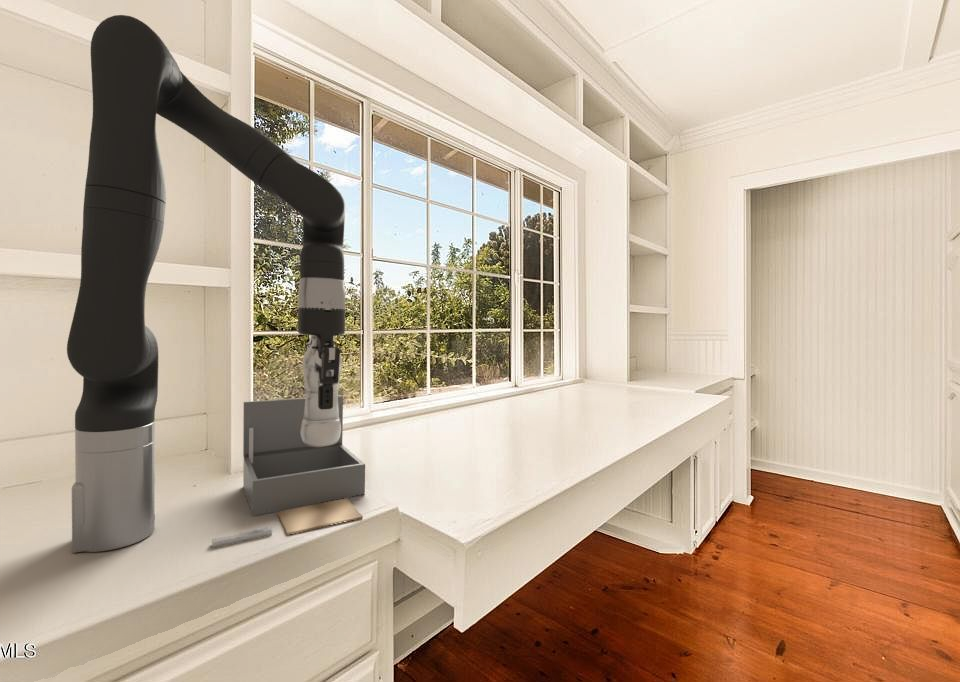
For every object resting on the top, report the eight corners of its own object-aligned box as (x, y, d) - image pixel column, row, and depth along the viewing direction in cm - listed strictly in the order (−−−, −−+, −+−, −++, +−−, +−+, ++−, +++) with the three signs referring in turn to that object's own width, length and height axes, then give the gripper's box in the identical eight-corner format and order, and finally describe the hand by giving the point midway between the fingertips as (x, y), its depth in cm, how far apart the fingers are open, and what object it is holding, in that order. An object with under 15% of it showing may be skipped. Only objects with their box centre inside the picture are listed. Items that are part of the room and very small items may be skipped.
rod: (212, 550, 65) (212, 542, 65) (211, 547, 66) (211, 539, 66) (272, 537, 69) (272, 529, 69) (270, 533, 70) (270, 526, 70)
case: (252, 516, 75) (253, 417, 75) (243, 485, 89) (243, 401, 89) (364, 494, 86) (366, 408, 86) (340, 470, 100) (342, 395, 99)
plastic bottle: (291, 447, 74) (292, 328, 73) (322, 438, 80) (324, 328, 79) (318, 453, 71) (320, 329, 70) (349, 444, 77) (351, 329, 76)
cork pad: (287, 535, 69) (287, 532, 69) (277, 513, 77) (277, 511, 77) (362, 518, 76) (362, 516, 76) (347, 500, 83) (347, 498, 83)
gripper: (290, 306, 79) (289, 400, 79) (308, 304, 67) (307, 415, 67) (333, 308, 83) (331, 397, 83) (357, 306, 71) (355, 411, 71)
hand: (320, 405), depth 75 cm, fingers closed on plastic bottle, 5 cm apart
